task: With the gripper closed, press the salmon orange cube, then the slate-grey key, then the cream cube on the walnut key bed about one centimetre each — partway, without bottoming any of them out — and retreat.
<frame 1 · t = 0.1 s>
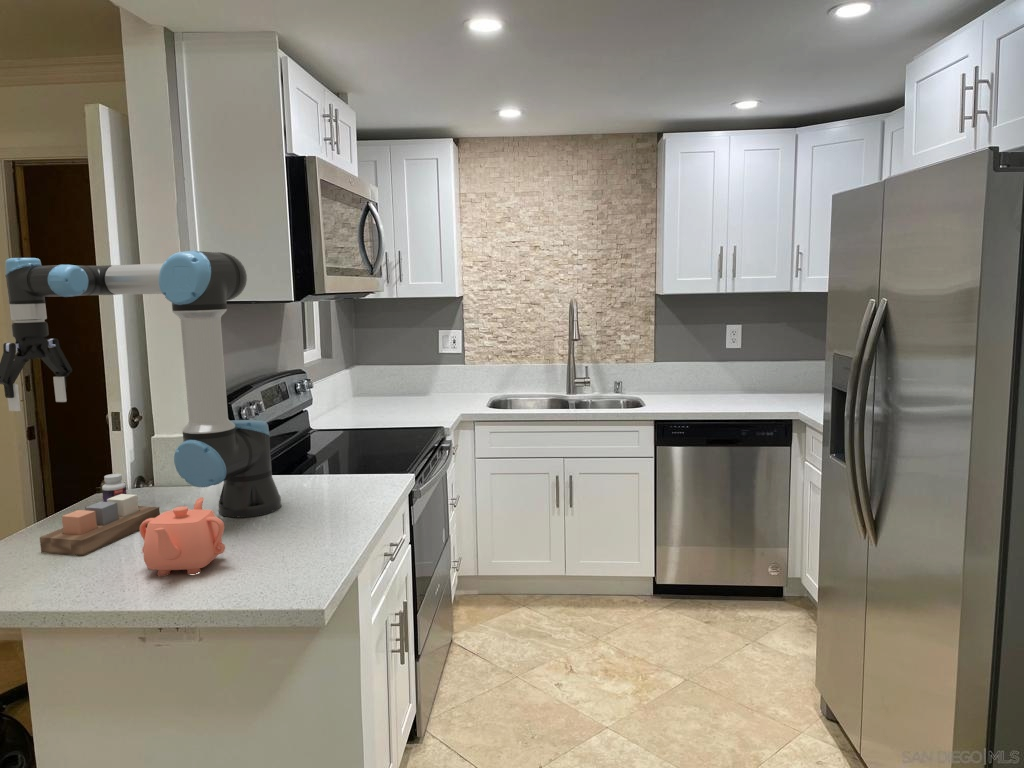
hand: (38, 406, 189), 28 cm above the worktop, fingers open, 13 cm apart
teapot: (185, 568, 155), on the worktop
key bed: (104, 535, 175), on the worktop
cream cube: (123, 507, 181), point 5 cm above the worktop, slide at 0.0 cm
salmon orange cube: (79, 524, 168), point 5 cm above the worktop, slide at 0.0 cm
pill bottle: (116, 513, 193), on the worktop
slate key: (102, 515, 175), point 5 cm above the worktop, slide at 0.0 cm
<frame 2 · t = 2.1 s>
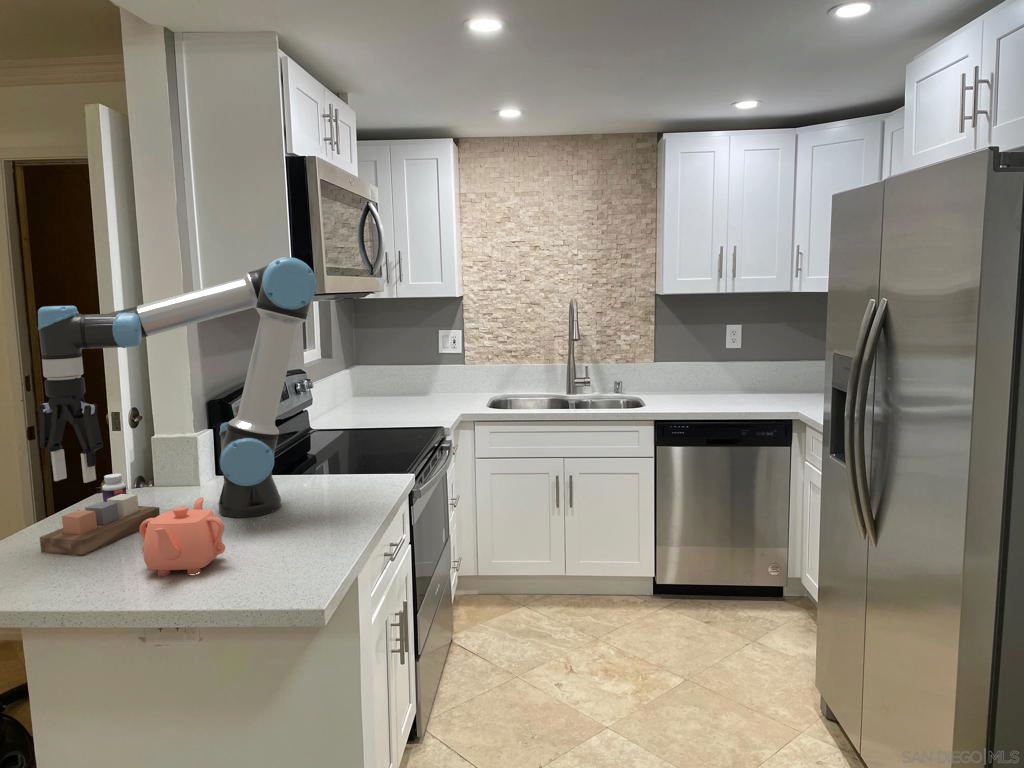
hand: (75, 480, 167), 15 cm above the worktop, fingers open, 7 cm apart
nothing on the worktop moved.
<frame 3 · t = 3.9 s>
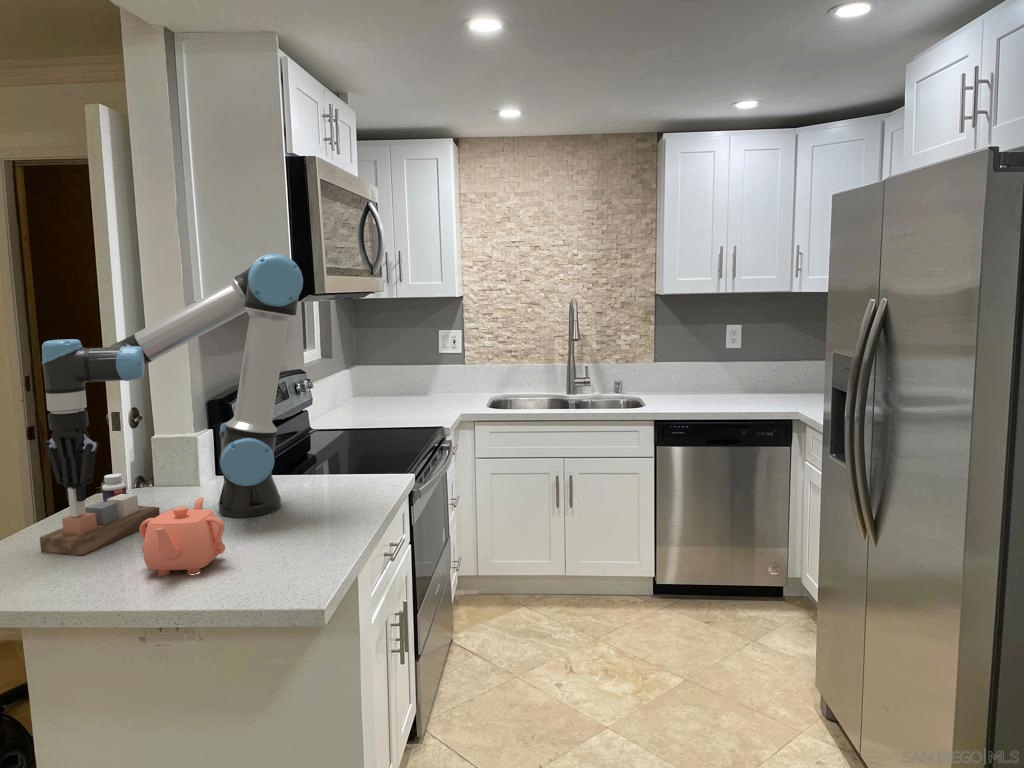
hand: (78, 514, 168), 7 cm above the worktop, fingers closed
salmon orange cube: (80, 526, 168), point 4 cm above the worktop, slide at 0.6 cm, touching gripper
everything else where it was.
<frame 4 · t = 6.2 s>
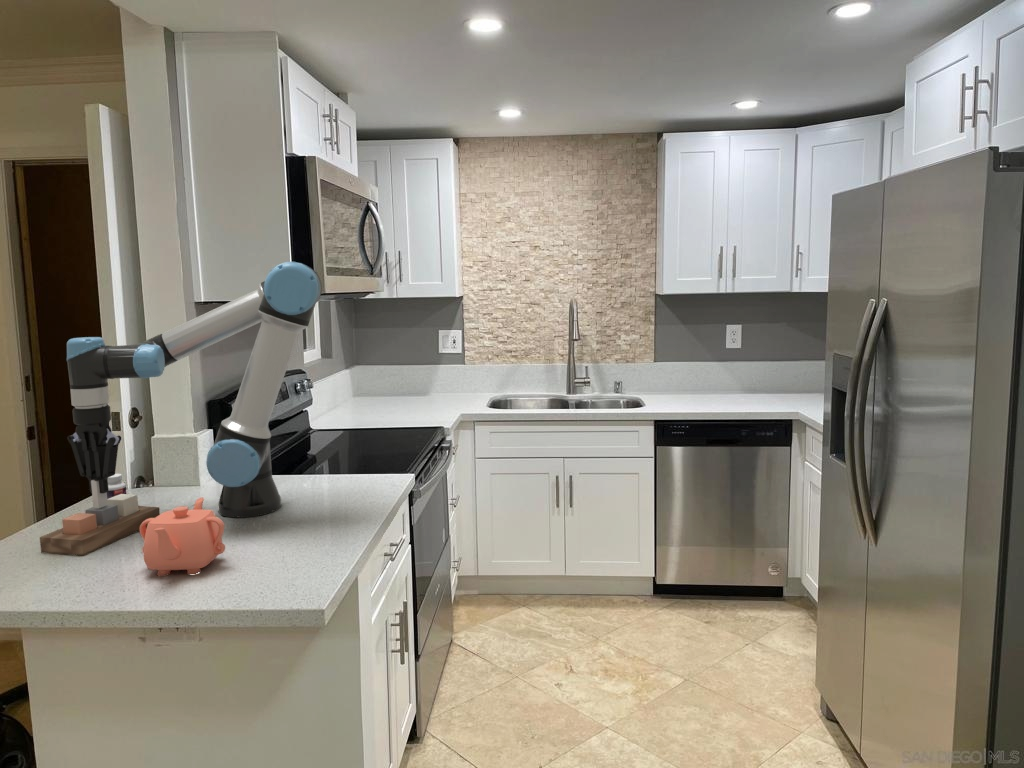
hand: (100, 506, 174), 7 cm above the worktop, fingers closed
salmon orange cube: (80, 527, 168), point 4 cm above the worktop, slide at 0.7 cm
slate key: (102, 517, 175), point 4 cm above the worktop, slide at 0.6 cm, touching gripper
everything else where it was.
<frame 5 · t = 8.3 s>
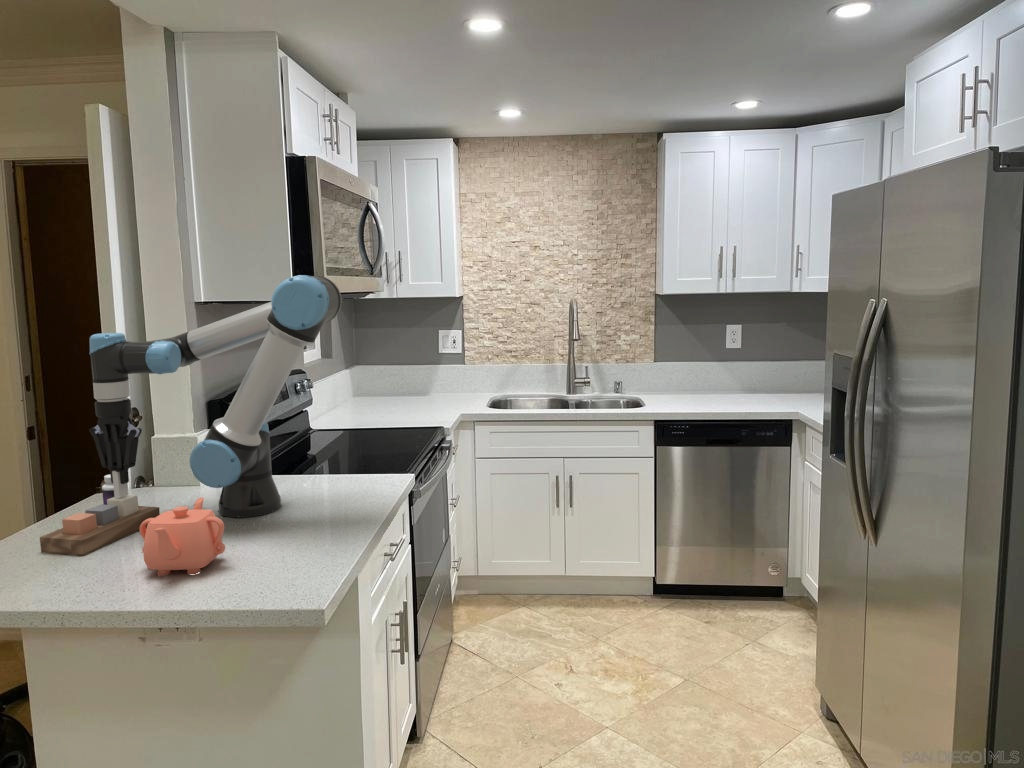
hand: (121, 496, 180), 8 cm above the worktop, fingers closed
cream cube: (123, 507, 181), point 5 cm above the worktop, slide at 0.1 cm, touching gripper
slate key: (102, 518, 175), point 4 cm above the worktop, slide at 0.7 cm
everything else where it was.
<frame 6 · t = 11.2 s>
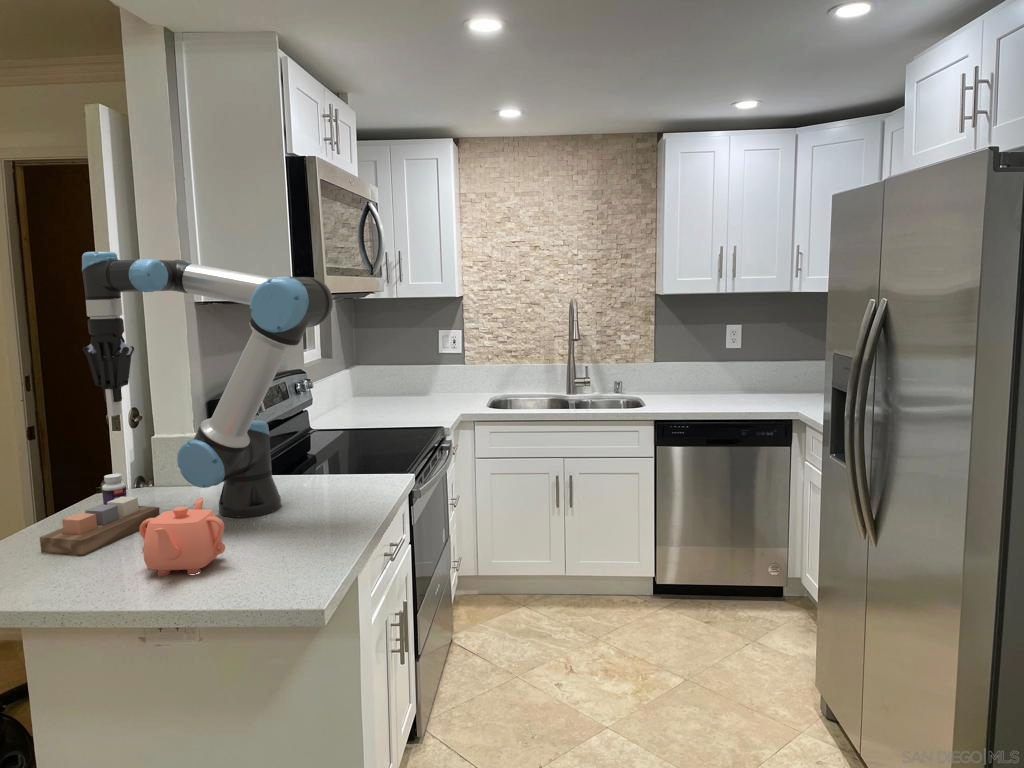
hand: (114, 414, 183), 26 cm above the worktop, fingers closed
cream cube: (123, 509, 181), point 4 cm above the worktop, slide at 0.7 cm
everything else where it was.
at the end: salmon orange cube slide at 0.7 cm; slate key slide at 0.7 cm; cream cube slide at 0.7 cm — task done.
